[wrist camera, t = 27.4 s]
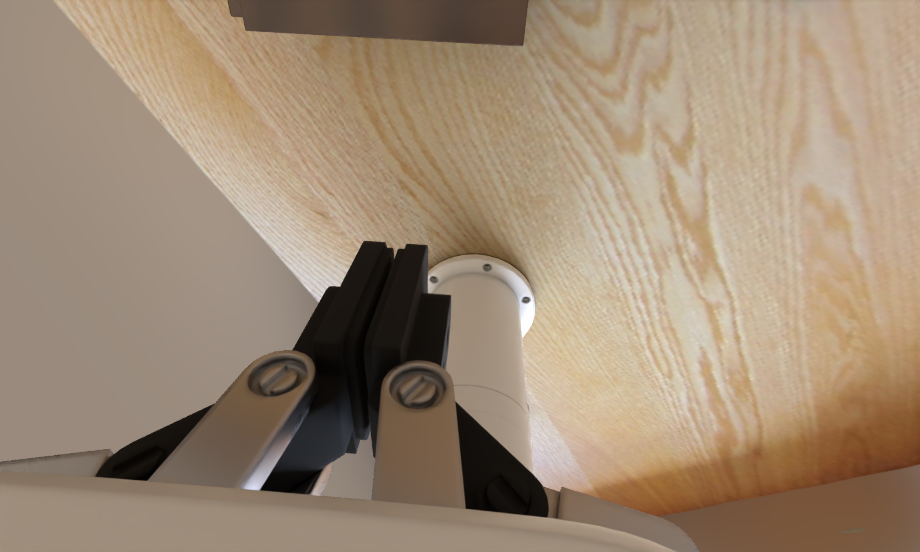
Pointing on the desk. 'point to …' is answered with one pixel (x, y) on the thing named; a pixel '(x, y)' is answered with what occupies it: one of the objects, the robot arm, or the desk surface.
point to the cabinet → (393, 19)
